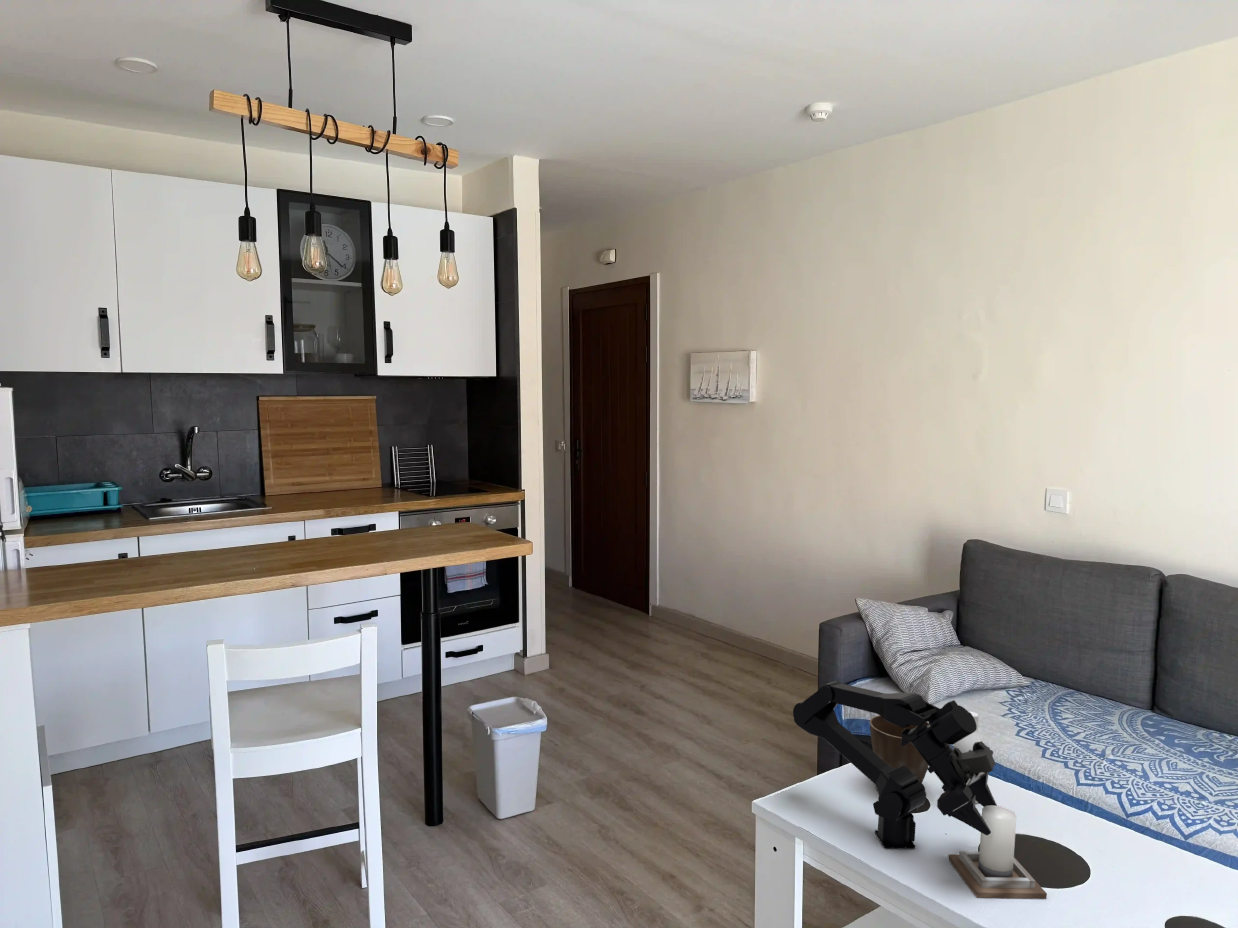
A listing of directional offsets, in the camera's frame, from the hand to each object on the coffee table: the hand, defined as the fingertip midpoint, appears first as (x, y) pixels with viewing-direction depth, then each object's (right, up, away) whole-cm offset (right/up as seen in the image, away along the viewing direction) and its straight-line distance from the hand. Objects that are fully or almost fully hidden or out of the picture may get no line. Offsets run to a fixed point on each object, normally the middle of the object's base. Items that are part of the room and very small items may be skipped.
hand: (993, 823), depth 161 cm
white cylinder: (0, -9, 0) cm, 10 cm away
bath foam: (+9, -8, +33) cm, 35 cm away
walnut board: (0, -10, 0) cm, 11 cm away
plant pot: (-6, -8, +35) cm, 36 cm away
